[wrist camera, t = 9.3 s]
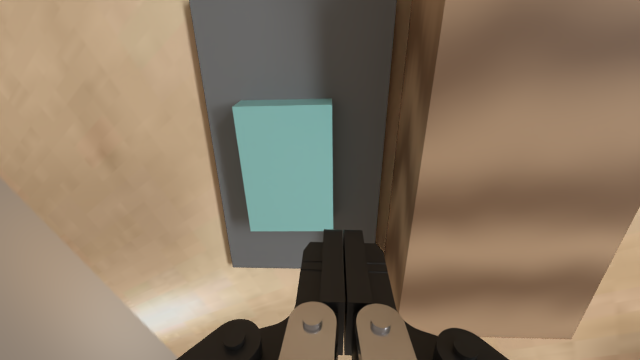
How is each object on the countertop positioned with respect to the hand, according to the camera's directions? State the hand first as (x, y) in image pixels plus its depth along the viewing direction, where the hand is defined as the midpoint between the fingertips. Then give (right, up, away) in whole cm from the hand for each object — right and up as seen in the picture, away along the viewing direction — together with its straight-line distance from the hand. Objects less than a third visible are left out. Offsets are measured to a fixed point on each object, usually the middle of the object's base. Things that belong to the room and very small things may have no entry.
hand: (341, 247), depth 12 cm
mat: (-2, +4, +10) cm, 11 cm away
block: (-3, +3, +8) cm, 9 cm away
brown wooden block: (+11, +4, +10) cm, 15 cm away
